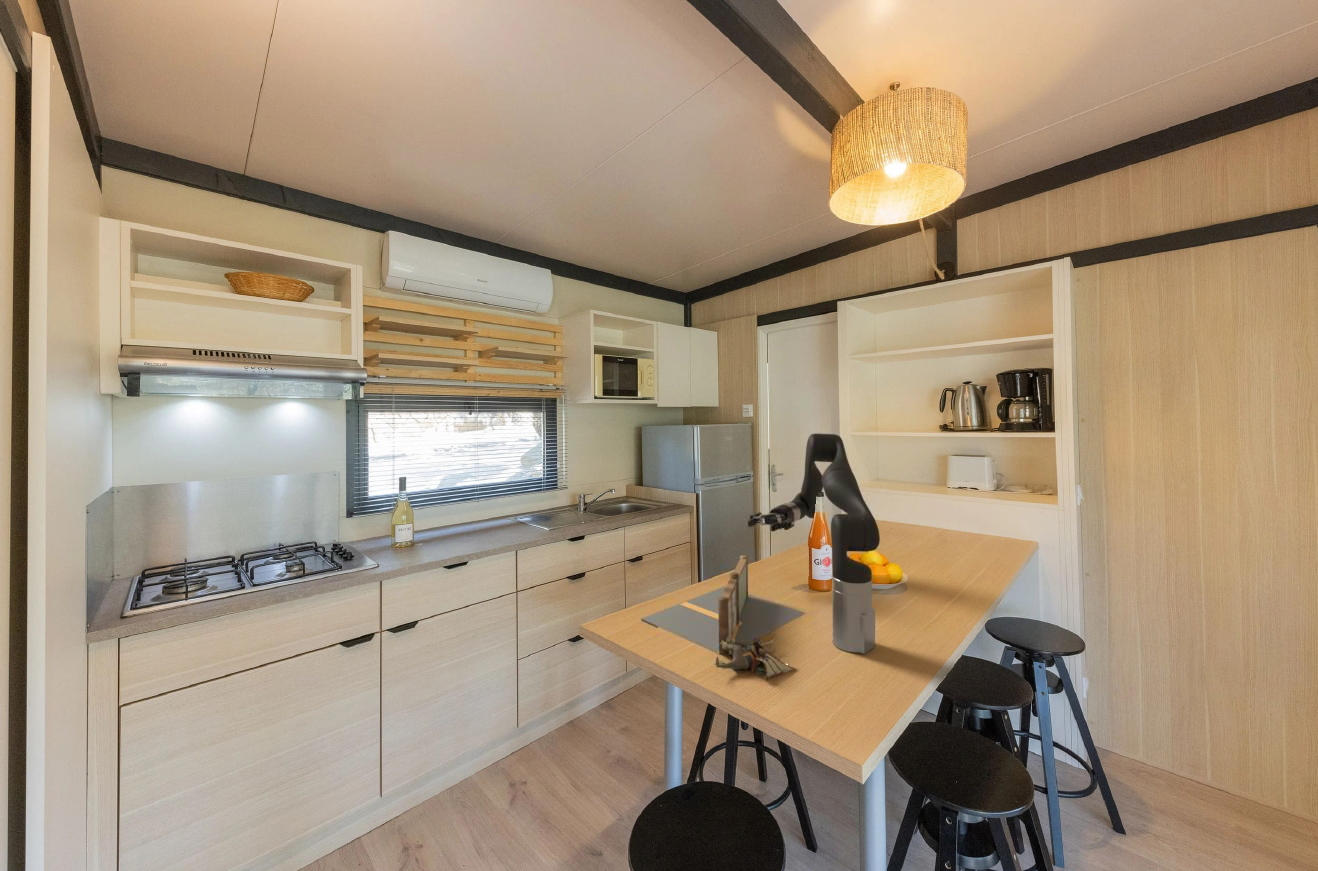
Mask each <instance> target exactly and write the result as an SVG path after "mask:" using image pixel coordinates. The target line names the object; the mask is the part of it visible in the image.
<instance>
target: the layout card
mask: <svg viewBox="0 0 1318 871" xmlns="http://www.w3.org/2000/svg"><path fill="white" fill-rule="evenodd" d="M725 588H726V586H722V587H720V588H717V589H714V590H712V591H709V592H706V593H703V594H701V595H699V596H696V597H694V598H691V599H688V600H685V601H683V602H680V603H678V604H675V605H673V606H670V607H668V608H667V607H666V608H665V609H662V610H659V611H656V612H654V613H651V614H649V615H646V616H643V617H642V618H640V621H642V620H643V621H642V622H644V623H647V624H649V625H651V626H653V627H656V628H661V629H663V630H666V631H667V632H670V633H672V634H674V635H676V636H678V637H681V638H683V639H685V640H687V641H689V642H692V643H694V644H696V645H698V646H700V647H703V648H705V649H707V650H709V651H710V652H712V653H713V652H714V653H716V654H717V655H720V653H719V615H718V598H719V597H721V596H722V594H723V592H724V590H725ZM805 614H806V611H805V612H804V611H801V610H798V609H795V608H793V607H790V606H789V607H788V606H785V605H782V604H780V603H776V602H774V601H770V600H767V599H764V598H761V597H757V596H754V595H752V594H749V593H748V598H746V600H745V603H744V606H743V608H742V611H741V614H740V617H739V624H738V625H736V627H735V630H734V633H733V636H732V638H731V639H735V640H737V641H742V642H743V641H748V642H750V643H751V642H753V640H754V639H755V638H756V639H760V638H763V637H764V636H765V635H767V634H770V633H771V632H773V631H775V630H777V629H779V628H780V627H783V626H784V625H786V624H788V623H790V622H792V621H793V620H795V619H798V618H799V617H801V616H804V615H805ZM730 644H731V643H730ZM731 645H732V644H731ZM733 645H738V644H733ZM738 646H740V647H742V646H741V645H738ZM730 655H731V654H730V653H729V654H727V655H721V656H722V657H726V656H730Z"/></svg>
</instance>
